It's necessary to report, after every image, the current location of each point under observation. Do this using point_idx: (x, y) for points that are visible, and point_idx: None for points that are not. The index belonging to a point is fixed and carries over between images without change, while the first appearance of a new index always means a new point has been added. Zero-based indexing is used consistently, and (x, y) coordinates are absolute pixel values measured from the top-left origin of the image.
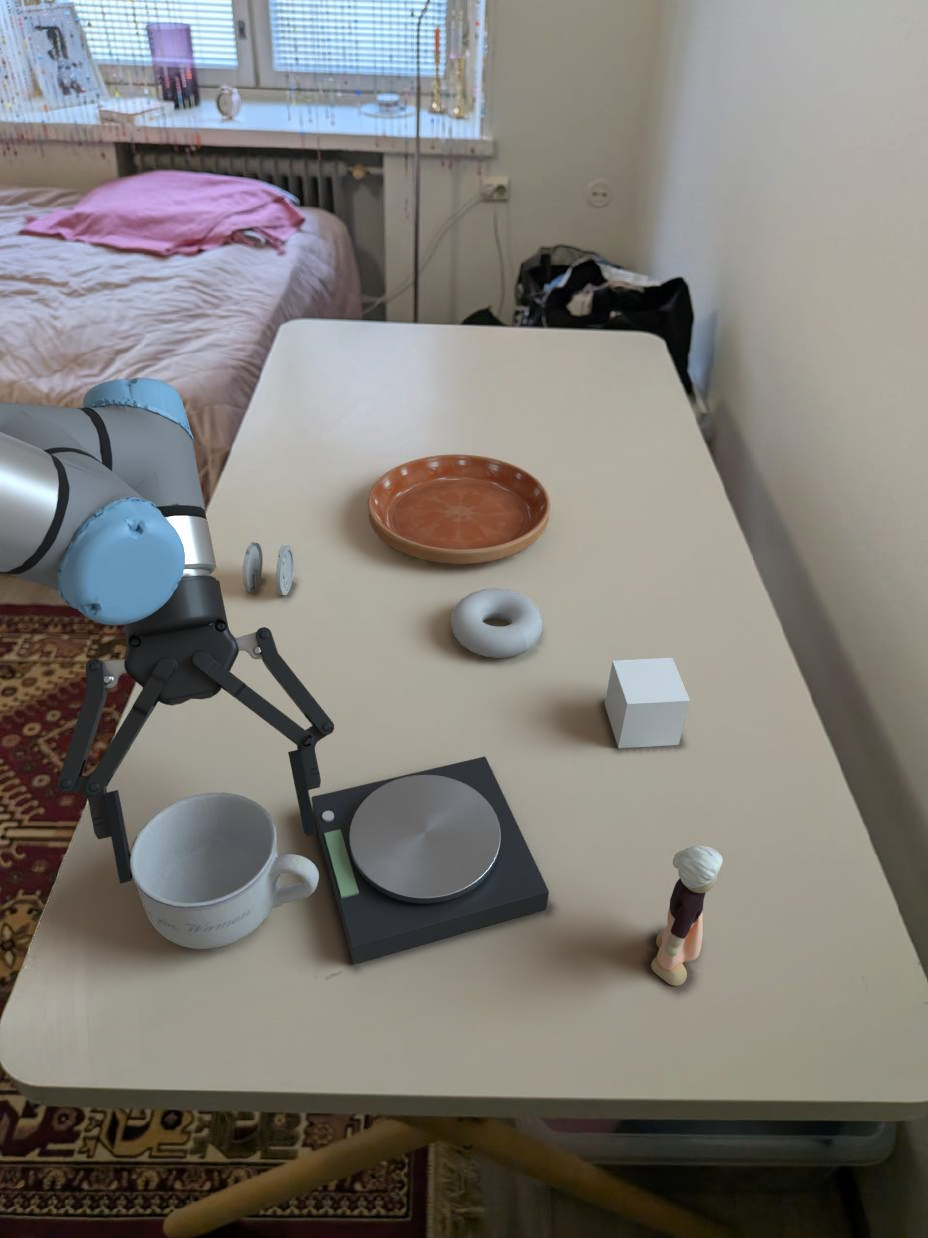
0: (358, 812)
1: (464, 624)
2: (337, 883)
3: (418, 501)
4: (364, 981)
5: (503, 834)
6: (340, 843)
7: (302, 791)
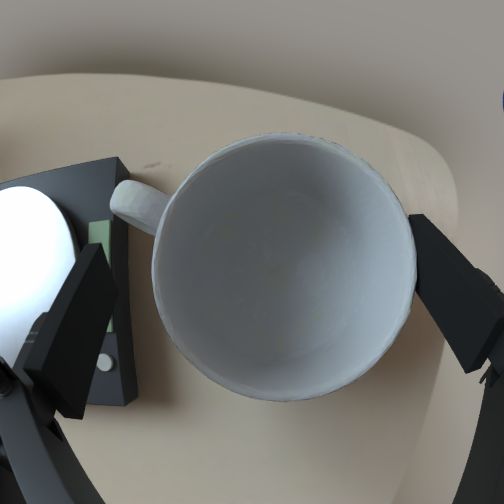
0: None
1: None
2: (110, 244)
3: None
4: (125, 154)
5: None
6: None
7: (65, 297)
